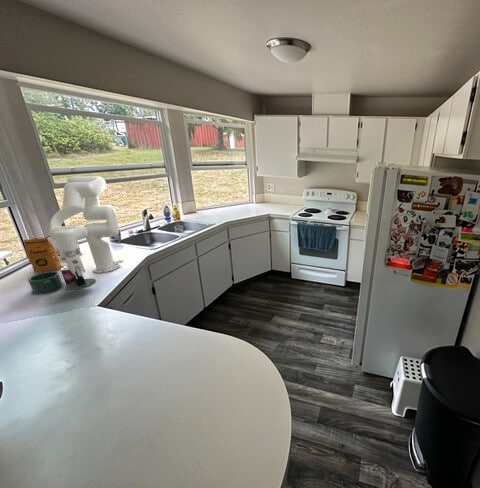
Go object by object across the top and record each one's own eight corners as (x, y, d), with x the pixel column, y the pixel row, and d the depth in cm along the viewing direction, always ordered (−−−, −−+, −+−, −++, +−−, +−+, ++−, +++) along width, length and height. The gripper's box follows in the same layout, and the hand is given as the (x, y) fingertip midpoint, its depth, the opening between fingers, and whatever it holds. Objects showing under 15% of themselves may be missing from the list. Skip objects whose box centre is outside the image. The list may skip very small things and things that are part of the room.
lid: (92, 278, 146) (89, 269, 145) (99, 284, 140) (96, 275, 138) (62, 286, 137) (59, 277, 135) (68, 293, 130) (65, 284, 128)
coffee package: (57, 271, 161) (45, 239, 154) (31, 274, 157) (17, 242, 149) (65, 265, 170) (54, 235, 162) (40, 268, 165) (27, 237, 158)
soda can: (74, 289, 142) (67, 271, 137) (63, 288, 143) (56, 269, 139) (87, 283, 148) (81, 265, 144) (78, 282, 150) (71, 264, 145)
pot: (59, 280, 151) (54, 268, 149) (66, 289, 142) (61, 276, 139) (31, 288, 142) (25, 275, 140) (36, 298, 133) (30, 284, 130)
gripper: (84, 254, 130) (94, 285, 136) (75, 247, 139) (85, 276, 145) (64, 258, 124) (75, 290, 130) (56, 251, 133) (67, 281, 139)
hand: (80, 283), depth 138 cm, fingers closed on lid, 2 cm apart
